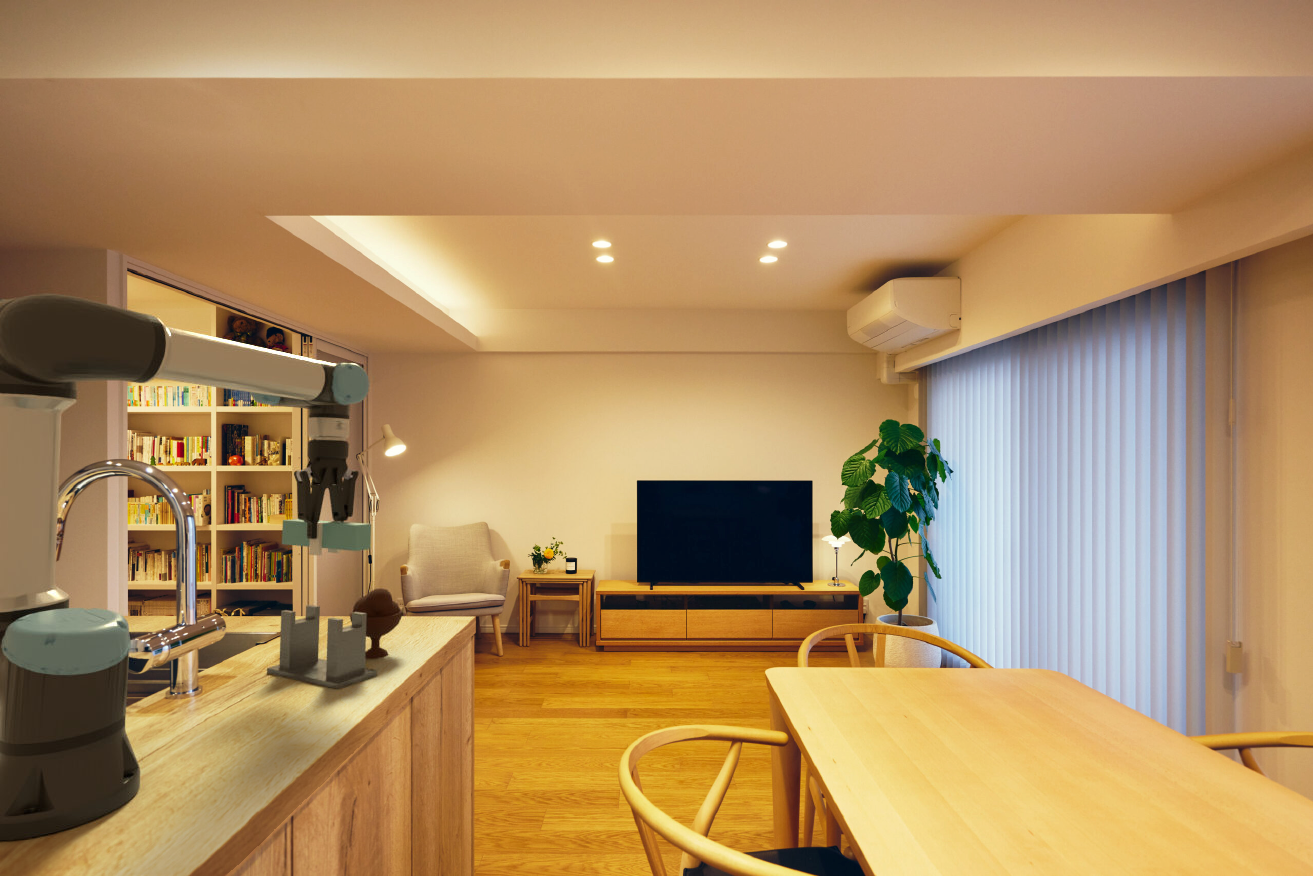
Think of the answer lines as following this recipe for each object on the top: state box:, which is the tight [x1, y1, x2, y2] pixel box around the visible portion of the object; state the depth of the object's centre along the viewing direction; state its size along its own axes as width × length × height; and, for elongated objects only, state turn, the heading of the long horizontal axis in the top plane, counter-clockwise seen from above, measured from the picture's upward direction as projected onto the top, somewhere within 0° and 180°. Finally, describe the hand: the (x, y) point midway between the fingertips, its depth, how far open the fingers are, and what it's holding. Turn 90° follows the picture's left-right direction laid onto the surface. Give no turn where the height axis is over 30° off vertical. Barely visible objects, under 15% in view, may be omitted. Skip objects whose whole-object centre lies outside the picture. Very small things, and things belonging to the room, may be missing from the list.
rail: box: [281, 518, 372, 552], centre depth 130 cm, size 22×4×5 cm, turn 65°
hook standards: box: [266, 604, 378, 690], centre depth 130 cm, size 9×21×12 cm, turn 65°
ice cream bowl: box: [349, 588, 403, 660], centre depth 143 cm, size 11×11×15 cm
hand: (324, 553), depth 130 cm, fingers closed on rail, 3 cm apart
